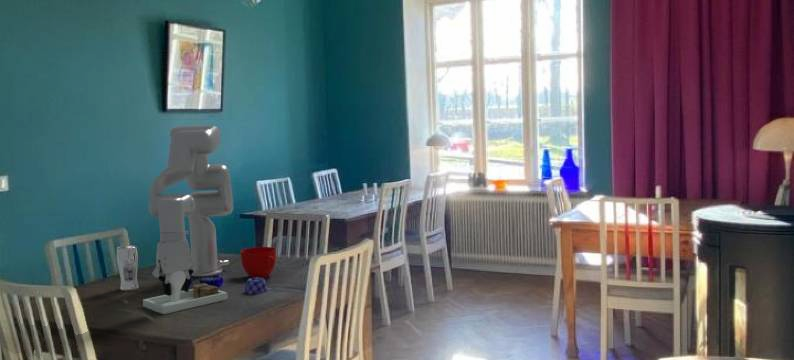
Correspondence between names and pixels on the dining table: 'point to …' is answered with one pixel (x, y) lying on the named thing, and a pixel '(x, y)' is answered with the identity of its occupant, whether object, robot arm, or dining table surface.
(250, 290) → the pudding
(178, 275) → the lightbulb
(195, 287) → the walnut block
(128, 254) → the beer glass
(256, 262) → the ceramic cup
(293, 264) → the dining table surface
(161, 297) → the tray
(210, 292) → the walnut block
